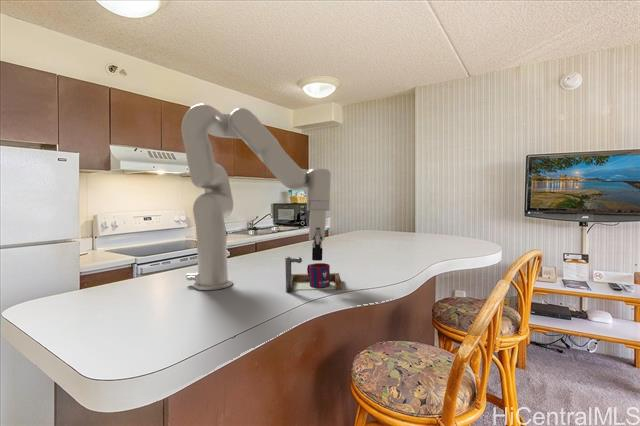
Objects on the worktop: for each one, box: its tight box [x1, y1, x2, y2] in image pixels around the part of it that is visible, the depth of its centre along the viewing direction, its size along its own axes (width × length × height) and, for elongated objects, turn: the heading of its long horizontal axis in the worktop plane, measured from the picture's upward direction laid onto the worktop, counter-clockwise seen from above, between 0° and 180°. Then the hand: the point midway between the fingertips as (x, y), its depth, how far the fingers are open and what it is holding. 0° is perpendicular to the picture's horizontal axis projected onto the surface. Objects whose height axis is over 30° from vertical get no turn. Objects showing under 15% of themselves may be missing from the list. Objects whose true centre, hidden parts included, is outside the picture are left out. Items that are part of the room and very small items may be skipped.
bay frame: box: [291, 272, 342, 291], centre depth 109 cm, size 18×11×2 cm, turn 91°
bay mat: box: [292, 281, 337, 291], centre depth 108 cm, size 14×9×1 cm, turn 91°
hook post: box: [284, 256, 303, 294], centre depth 102 cm, size 5×2×11 cm, turn 91°
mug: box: [306, 262, 331, 288], centre depth 109 cm, size 7×10×7 cm
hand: (317, 257), depth 108 cm, fingers open, 9 cm apart
